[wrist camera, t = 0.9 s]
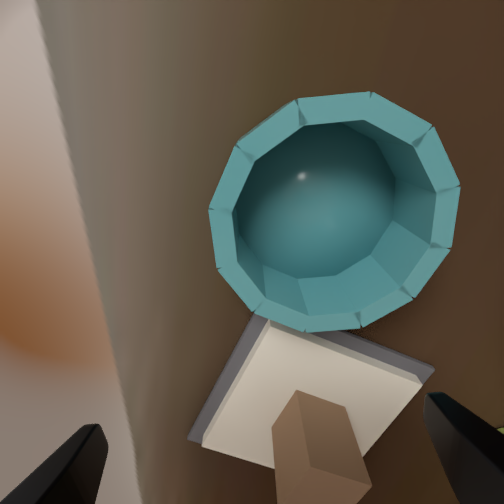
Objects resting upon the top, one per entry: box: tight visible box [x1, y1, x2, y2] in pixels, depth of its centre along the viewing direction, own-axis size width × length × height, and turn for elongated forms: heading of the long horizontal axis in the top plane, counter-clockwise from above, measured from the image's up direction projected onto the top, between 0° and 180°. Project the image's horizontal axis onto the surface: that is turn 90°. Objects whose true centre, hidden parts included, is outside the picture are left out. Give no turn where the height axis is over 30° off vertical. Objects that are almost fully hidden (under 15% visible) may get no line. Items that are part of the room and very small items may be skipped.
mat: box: [187, 313, 435, 444], centre depth 25 cm, size 14×14×1 cm
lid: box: [202, 319, 423, 504], centre depth 22 cm, size 12×12×6 cm
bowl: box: [209, 92, 460, 333], centre depth 17 cm, size 11×11×5 cm
